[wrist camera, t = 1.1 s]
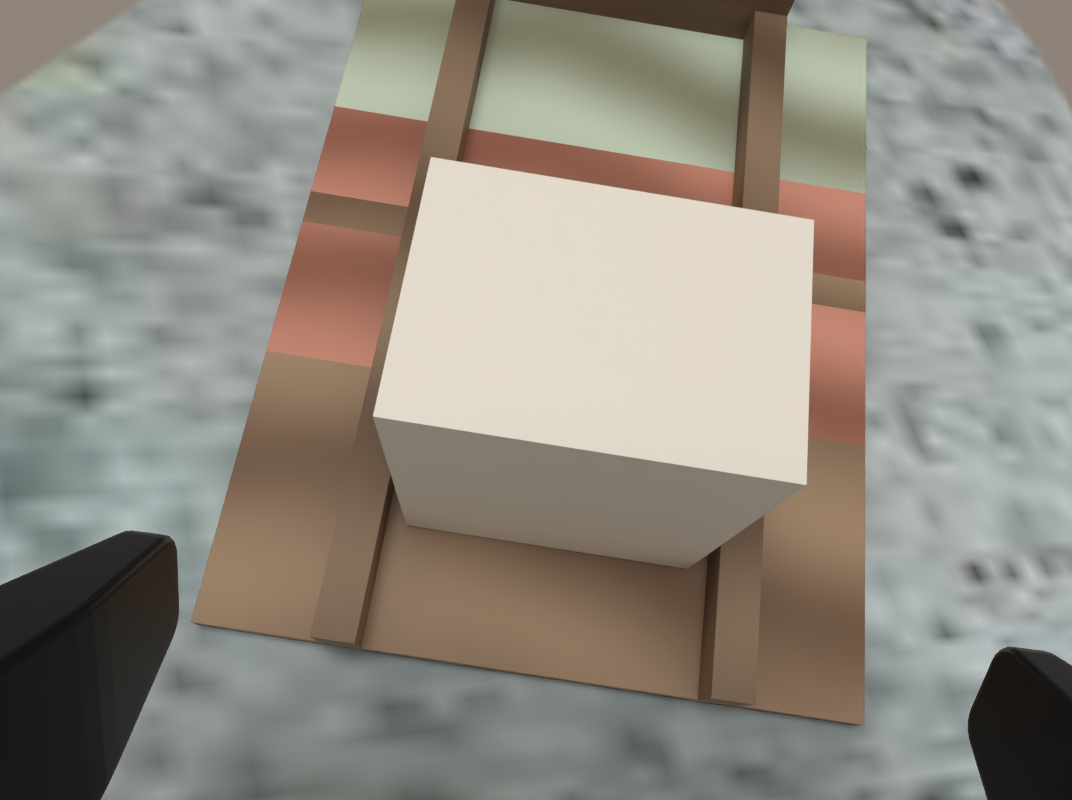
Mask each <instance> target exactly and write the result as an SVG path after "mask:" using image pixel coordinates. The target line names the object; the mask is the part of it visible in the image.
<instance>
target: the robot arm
mask: <svg viewBox="0 0 1072 800" xmlns="http://www.w3.org/2000/svg"><path fill="white" fill-rule="evenodd" d="M178 615H179V594H178V565H177V549H176V545H175V542H174V541H173V540H172V539H171V538H170V537H169V536H167V535H161V534H154V533H147V532H139V531H125V532H122V533H119V534H117V535H115V536H112V537H110V538H108V539H105V540H103V541H101V542H99V543H96V544H94V545H92V546H89V547H87V548H85V549H83V550H80V551H78V552H76V553H73V554H71V555H69V556H66V557H64V558H62V559H60V560H57V561H55V562H53V563H50V564H48V565H46V566H44V567H41V568H39V569H37V570H34V571H32V572H30V573H27V574H25V575H23V576H21V577H18V578H16V579H14V580H11V581H9V582H7V583H5V584H2V585H0V800H100V799H101V798H102V796H103V794H104V792H105V790H106V788H107V786H108V784H109V782H110V780H111V778H112V776H113V773H114V771H115V769H116V767H117V765H118V763H119V760H120V758H121V756H122V754H123V751H124V749H125V747H126V744H127V742H128V740H129V737H130V735H131V733H132V731H133V728H134V726H135V724H136V721H137V719H138V717H139V714H140V712H141V710H142V708H143V705H144V703H145V701H146V698H147V696H148V694H149V691H150V689H151V687H152V685H153V682H154V680H155V678H156V675H157V673H158V671H159V668H160V666H161V664H162V662H163V659H164V657H165V655H166V652H167V650H168V648H169V645H170V643H171V641H172V638H173V636H174V633H175V630H176V627H177V622H178ZM968 734H969V740H970V744H971V747H972V750H973V754H974V757H975V760H976V764H977V767H978V770H979V773H980V777H981V780H982V783H983V787H984V790H985V793H986V797H987V800H1072V666H1071V665H1070V664H1068V663H1067V662H1065V661H1064V660H1062V659H1060V658H1059V657H1057V656H1056V655H1054V654H1052V653H1049V652H1046V651H1041V650H1033V649H1025V648H1017V647H1006V648H1003V649H1001V650H1000V651H999V652H998V653H997V654H996V655H995V656H994V658H993V660H992V662H991V664H990V667H989V669H988V671H987V674H986V676H985V678H984V680H983V683H982V685H981V687H980V690H979V692H978V694H977V696H976V699H975V701H974V703H973V706H972V708H971V711H970V714H969V719H968Z"/></svg>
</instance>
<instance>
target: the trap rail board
mask: <svg viewBox="0 0 1072 800" xmlns="http://www.w3.org/2000/svg"><path fill="white" fill-rule="evenodd" d="M793 2H794V0H364V3H363V7H362V11H361V14H360V18H359V21H358V25H357V28H356V32H355V36H354V39H353V43H352V46H351V50H350V54H349V57H348V61H347V64H346V68H345V71H344V75H343V79H342V82H341V86H340V89H339V93H338V96H337V100H336V104H335V107H334V111H333V114H332V118H331V121H330V125H329V129H328V132H327V136H326V139H325V143H324V147H323V150H322V154H321V157H320V161H319V164H318V168H317V172H316V175H315V179H314V182H313V186H312V189H311V193H310V197H309V200H308V204H307V207H306V211H305V215H304V218H303V222H302V225H301V229H300V232H299V236H298V240H297V243H296V247H295V250H294V254H293V257H292V261H291V265H290V268H289V272H288V275H287V279H286V283H285V286H284V290H283V293H282V297H281V300H280V304H279V308H278V311H277V315H276V318H275V322H274V325H273V329H272V333H271V336H270V340H269V343H268V347H267V351H266V354H265V358H264V361H263V365H262V368H261V372H260V376H259V379H258V383H257V386H256V390H255V393H254V397H253V401H252V404H251V408H250V411H249V415H248V419H247V422H246V426H245V429H244V433H243V436H242V440H241V444H240V447H239V451H238V454H237V458H236V461H235V465H234V469H233V472H232V476H231V479H230V483H229V486H228V490H227V494H226V497H225V501H224V504H223V508H222V512H221V515H220V519H219V522H218V526H217V529H216V533H215V537H214V540H213V544H212V547H211V551H210V554H209V558H208V562H207V565H206V569H205V572H204V576H203V580H202V583H201V587H200V590H199V594H198V597H197V601H196V605H195V608H194V612H193V615H192V619H191V622H192V623H195V624H197V625H203V626H209V627H216V628H222V629H229V630H235V631H242V632H248V633H255V634H261V635H268V636H274V637H281V638H288V639H294V640H301V641H307V642H314V643H320V644H327V645H333V646H340V647H346V648H353V649H360V650H366V651H373V652H379V653H386V654H392V655H399V656H405V657H412V658H418V659H425V660H431V661H438V662H445V663H451V664H458V665H464V666H471V667H477V668H484V669H490V670H497V671H503V672H510V673H517V674H523V675H530V676H536V677H543V678H549V679H556V680H562V681H569V682H575V683H582V684H588V685H595V686H602V687H608V688H615V689H621V690H628V691H634V692H641V693H647V694H654V695H660V696H667V697H674V698H680V699H687V700H693V701H700V702H706V703H713V704H719V705H726V706H732V707H739V708H745V709H752V710H759V711H765V712H772V713H778V714H785V715H791V716H798V717H804V718H811V719H817V720H824V721H831V722H837V723H844V724H850V725H864V657H865V314H866V39H865V38H859V37H853V36H847V35H841V34H835V33H830V32H824V31H818V30H812V29H806V28H800V27H794V26H788V25H787V16H788V13H789V11H790V9H791V7H792V4H793ZM431 157H434V158H440V159H446V160H452V161H458V162H465V163H471V164H477V165H483V166H489V167H495V168H501V169H507V170H513V171H519V172H525V173H532V174H538V175H544V176H550V177H556V178H562V179H568V180H574V181H580V182H586V183H592V184H598V185H605V186H611V187H617V188H623V189H629V190H635V191H641V192H647V193H653V194H659V195H665V196H672V197H678V198H684V199H690V200H696V201H702V202H708V203H714V204H720V205H726V206H732V207H738V208H745V209H751V210H757V211H763V212H769V213H775V214H781V215H787V216H793V217H799V218H805V219H812V220H814V242H813V277H812V312H811V348H810V383H809V418H808V454H807V485H806V486H805V487H803V488H802V489H800V490H799V491H797V492H796V493H795V494H793V495H792V496H790V497H789V498H788V499H786V500H785V501H783V502H782V503H780V504H779V505H778V506H776V507H775V508H773V509H772V510H770V511H769V512H768V513H766V514H765V515H763V516H762V517H761V518H759V519H758V520H756V521H755V522H753V523H752V524H751V525H749V526H748V527H746V528H745V529H743V530H742V531H741V532H739V533H738V534H736V535H735V536H733V537H732V538H731V539H729V540H728V541H726V542H725V543H724V544H722V545H721V546H719V547H718V548H716V549H715V550H714V551H712V552H711V553H709V554H708V555H706V556H705V557H704V558H702V559H701V560H699V561H698V562H697V563H695V564H694V565H692V566H691V567H689V568H688V569H684V568H678V567H672V566H665V565H659V564H652V563H646V562H639V561H633V560H627V559H620V558H614V557H607V556H601V555H595V554H588V553H582V552H575V551H569V550H562V549H556V548H550V547H543V546H537V545H530V544H524V543H518V542H511V541H505V540H498V539H492V538H485V537H479V536H473V535H466V534H460V533H453V532H447V531H441V530H434V529H428V528H421V527H415V526H408V525H406V522H405V519H404V516H403V513H402V509H401V506H400V503H399V500H398V496H397V493H396V490H395V487H394V483H393V480H392V477H391V474H390V470H389V467H388V464H387V461H386V458H385V454H384V451H383V448H382V445H381V441H380V438H379V435H378V432H377V428H376V425H375V422H374V419H373V413H374V409H375V404H376V400H377V395H378V391H379V387H380V382H381V378H382V373H383V369H384V364H385V360H386V355H387V351H388V346H389V342H390V337H391V333H392V328H393V324H394V319H395V315H396V310H397V306H398V302H399V297H400V293H401V288H402V284H403V279H404V275H405V270H406V266H407V261H408V257H409V252H410V248H411V243H412V239H413V234H414V230H415V226H416V221H417V217H418V212H419V208H420V203H421V199H422V194H423V190H424V185H425V181H426V176H427V172H428V167H429V163H430V158H431Z"/></svg>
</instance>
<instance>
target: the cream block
mask: <svg viewBox="0 0 1072 800" xmlns="http://www.w3.org/2000/svg"><path fill="white" fill-rule="evenodd" d="M813 242H814V220H812V219H805V218H799V217H793V216H787V215H781V214H775V213H769V212H763V211H757V210H751V209H745V208H738V207H732V206H726V205H720V204H714V203H708V202H702V201H696V200H690V199H684V198H678V197H672V196H665V195H659V194H653V193H647V192H641V191H635V190H629V189H623V188H617V187H611V186H605V185H598V184H592V183H586V182H580V181H574V180H568V179H562V178H556V177H550V176H544V175H538V174H532V173H525V172H519V171H513V170H507V169H501V168H495V167H489V166H483V165H477V164H471V163H465V162H458V161H452V160H446V159H440V158H434V157H431V158H430V163H429V167H428V172H427V176H426V181H425V185H424V190H423V194H422V199H421V203H420V208H419V212H418V217H417V221H416V226H415V230H414V234H413V239H412V243H411V248H410V252H409V257H408V261H407V266H406V270H405V275H404V279H403V284H402V288H401V293H400V297H399V302H398V306H397V310H396V315H395V319H394V324H393V328H392V333H391V337H390V342H389V346H388V351H387V355H386V360H385V364H384V369H383V373H382V378H381V382H380V387H379V391H378V395H377V400H376V404H375V409H374V413H373V419H374V422H375V425H376V428H377V432H378V435H379V438H380V441H381V445H382V448H383V451H384V454H385V458H386V461H387V464H388V467H389V470H390V474H391V477H392V480H393V483H394V487H395V490H396V493H397V496H398V500H399V503H400V506H401V509H402V513H403V516H404V519H405V522H406V525H408V526H415V527H421V528H428V529H434V530H441V531H447V532H453V533H460V534H466V535H473V536H479V537H485V538H492V539H498V540H505V541H511V542H518V543H524V544H530V545H537V546H543V547H550V548H556V549H562V550H569V551H575V552H582V553H588V554H595V555H601V556H607V557H614V558H620V559H627V560H633V561H639V562H646V563H652V564H659V565H665V566H672V567H678V568H684V569H688V568H689V567H691V566H692V565H694V564H695V563H697V562H698V561H699V560H701V559H702V558H704V557H705V556H706V555H708V554H709V553H711V552H712V551H714V550H715V549H716V548H718V547H719V546H721V545H722V544H724V543H725V542H726V541H728V540H729V539H731V538H732V537H733V536H735V535H736V534H738V533H739V532H741V531H742V530H743V529H745V528H746V527H748V526H749V525H751V524H752V523H753V522H755V521H756V520H758V519H759V518H761V517H762V516H763V515H765V514H766V513H768V512H769V511H770V510H772V509H773V508H775V507H776V506H778V505H779V504H780V503H782V502H783V501H785V500H786V499H788V498H789V497H790V496H792V495H793V494H795V493H796V492H797V491H799V490H800V489H802V488H803V487H805V486H806V485H807V454H808V418H809V383H810V348H811V312H812V277H813Z"/></svg>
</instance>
